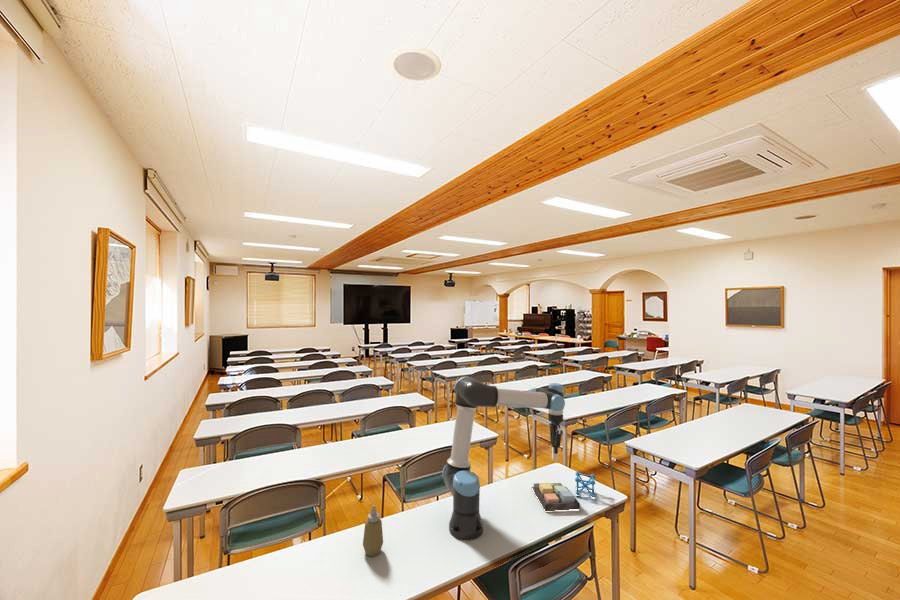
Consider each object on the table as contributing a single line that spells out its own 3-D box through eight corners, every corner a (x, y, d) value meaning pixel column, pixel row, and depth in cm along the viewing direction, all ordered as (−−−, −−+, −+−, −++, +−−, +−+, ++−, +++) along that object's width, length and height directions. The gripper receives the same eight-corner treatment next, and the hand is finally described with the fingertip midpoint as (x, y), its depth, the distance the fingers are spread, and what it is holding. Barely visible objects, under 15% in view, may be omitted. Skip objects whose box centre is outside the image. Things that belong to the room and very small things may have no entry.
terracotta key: (547, 505, 178) (547, 499, 178) (544, 499, 183) (544, 493, 183) (558, 505, 178) (558, 499, 178) (554, 499, 184) (554, 493, 184)
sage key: (557, 496, 186) (557, 491, 186) (553, 491, 192) (553, 485, 192) (568, 496, 186) (568, 490, 187) (564, 491, 192) (564, 485, 192)
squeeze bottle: (360, 548, 148) (361, 503, 148) (380, 543, 151) (381, 499, 151) (364, 560, 140) (365, 513, 141) (385, 555, 143) (386, 508, 144)
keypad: (545, 512, 176) (545, 504, 176) (531, 489, 199) (531, 482, 199) (579, 511, 177) (579, 503, 177) (562, 488, 200) (561, 481, 200)
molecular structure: (595, 492, 196) (595, 473, 197) (595, 501, 187) (595, 481, 187) (575, 489, 200) (575, 470, 200) (574, 497, 191) (574, 478, 191)
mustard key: (542, 494, 186) (542, 488, 186) (539, 489, 191) (539, 483, 191) (553, 494, 186) (553, 488, 186) (549, 489, 192) (549, 483, 192)
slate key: (563, 502, 178) (563, 496, 178) (559, 496, 184) (559, 490, 184) (574, 502, 179) (574, 495, 179) (570, 496, 184) (570, 490, 184)
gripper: (567, 416, 185) (566, 464, 184) (558, 410, 198) (557, 454, 197) (552, 416, 185) (552, 464, 184) (544, 410, 198) (544, 454, 197)
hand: (555, 458), depth 190 cm, fingers closed
